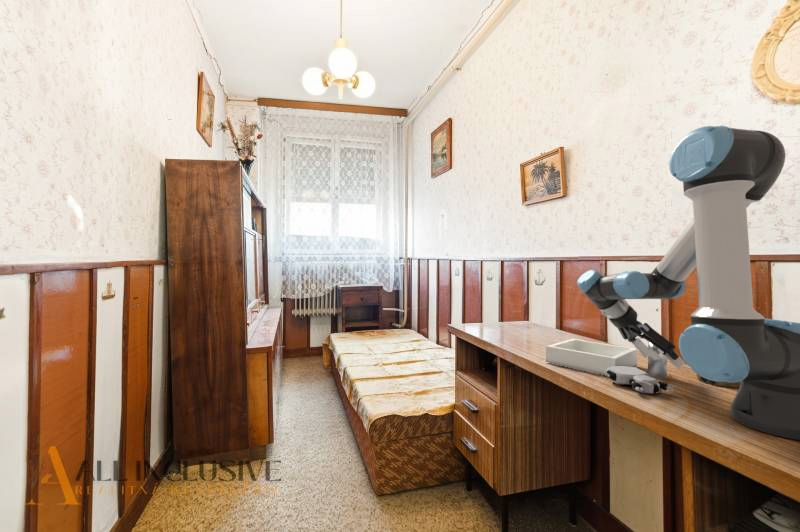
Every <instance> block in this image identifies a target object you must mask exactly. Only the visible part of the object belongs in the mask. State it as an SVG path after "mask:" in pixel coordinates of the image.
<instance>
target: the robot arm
mask: <svg viewBox="0 0 800 532" xmlns="http://www.w3.org/2000/svg"><path fill="white" fill-rule="evenodd" d="M785 161H786V150H785V146H784V144H783V143H782V141H781V140H780V139H779V138H778V137H777V136H775V135H774V134H772V133H771V132H770V133H769V132H768V131H763V130H752V129H743V128H734V127H728V126H725V125H717V126H713V125H708V126H707V125H706V126H701V127H698V128H696V129H694V130H691V131H690V132H689V133H687V134H686V135H684V137H682V138H681V139H680V140H679V141H678V143H677V145H675V147H674V148H673V150H672V152H671V154H670V158H669V162H668V163H669V165H668V166H669V168H668V169H669V171H670V172H669V173H670V174H671V175H672V176H673V178H674V177H675V179H676V180H678V181H680V182H682V184H683V185H682V186H683V187H682V188H683V195H684V196H685V197H686V198H688V199H690V200H691V201H692V208H693V209H692V210H693V218H692V219H691V221H690V222H689V224H687V226H686V227H685V229H684V230H683V231H682V232H681V233H680V235H679V236H678V238H677V239H676V240H675V242H674V243H673V244H672V245H671V247H670V248H669V250H668V251H667V252H666V253H665V254H664V256H663V257H662V258H661V260H660V262H659V263H658V264H657V265H656V267H655V268H654V269H653V270H652V271H651V272H647V273H645V272H643V273H642V272H640V271H636V270H632V271H631V270H630V271H622V272H619V273H614V274H608V275H603V274H602V273H600V272H599V271H598V270H596V269H589V270H587V271H586V272H583V274H581V275H580V276H579V278H578V279H577V281H576V285H577V287H578V288H579V290H580V291H581V292H582V294H584V296H585V297H587V299H588V300H590V301H591V303H592V304H593V305H594V306H596V308H598V310H599V311H600V312H601V315H602V316H605V318H607V319H608V320H609V322H610V323H612V325H613V326H614V327H615V328H617V330H618V331H619V333H620V335H621V337H622V338H623V339H624V340H625V341H626V340H627V341H628V342H629V343H631V344H632V345H633V346H634V348H635V349H637V351H638V352H639V353H640V354H641V355H642V356H643V357H644V358H648V345H646V344H645V343H644V342H643V341H642V340H641V339H644V340H646V341H647V342H648V341H649V342H650V343H651V344H653V345H654V346H656V347H657V348H659V349H660V350H662V351H663V355H665V356H666V357H667V358H668V360H669V361H670V362H671V364H672V365H673V366H674V367H675V368H676V369H677V370H678V369H679V370H680V369H681V368H682V366H684V365H685V364H686V365H687V366H688V367H689V368H691V369H692V370H691V371H693V373H695V374H696V375H697V374H698V375H700V376H701V377H703V378H706V379H708V380H712V381H717V382H729V383H734V382H740V381H741V386H739V387H738V390H737V392H736V394H735V397H734V398H733V400H732V402H731V404H730V410H729V411H730V413H729V415H730V417H731V419H733V421H736V422H738V423H739V424H741V425H743V426H745V427H748V428H750V429H753V430H755V431H758V432H762V433H766V434H769V435H774V436H777V437H781V438H785V439H791V440H796V441H800V322H796V321H795V322H793V321H787V320H780V319H771V318H765V316H763V315H762V314H761V313H759V312H758V311H757V310H756V309H755V308H754V298H753V285H752V271H751V255H750V244H749V243H750V241H749V229H748V228H749V227H748V213H747V208H748V207H749V206H750V205H751V204H752V203H757V202H760V201H761V200H762V199H763V198H764V196H766V194H767V193H768V192H769V191H770V189H771V188H772V187H773V186H774V184H775V183H776V181H777V180H778V178H779V177H780V175H781V173H782V171H783V168H784V164H785ZM695 269H696V275H697V276H696V279H697V294H698V308H696V310H694V311H693V312H692V313H691V314H690V325H689V326H688V327H686V328H685V329H684V331H683V332H682V333H680V336H679V339H678V340H679V341H678V349H679V352H680V355H681V356H680V355H679V354H678V353H677V352H676V351H675V349H676V345H674V344H673V343H672V342H671V341H669V339H668V338H666V339H665V337H664V336H663V335H662V334H660V333H659V332H657V330H655V329H654V328H652V326H650V325H649V324H648V323H647V322H644V323H642V322H641V321H639V320H638V313H637V311H636V310H635V309H634V308H633V307H632V306H631V305H630V304H629V303H628V301H627V300H672V299H673V300H674V299H678V298H680V297H681V296H683V295H684V293H685V292H686V291H685V290H686V287H687V285H686V281H685V280H686V279H687V278H688V277H689V276H690V274H691V273H692V272H693V271H694V270H695ZM667 339H668V340H667Z"/></svg>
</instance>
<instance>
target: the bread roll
mask: <svg viewBox="0 0 800 532" xmlns="http://www.w3.org/2000/svg"><path fill="white" fill-rule="evenodd" d="M696 377H697V379H698V381H700V382H702V383H704V384H708V385H711V386H717V387H722V386H723V388H724V387H725V388H740V386H741V381H740V382H734V383H729V382H717V381H712V380H708V379H706V378H703V377H701V376H700V375H698V374H697V373H696Z"/></svg>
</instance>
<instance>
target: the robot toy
mask: <svg viewBox="0 0 800 532" xmlns="http://www.w3.org/2000/svg"><path fill="white" fill-rule="evenodd" d="M600 369H601V370H602V371H603V372H604V373H605V374H606V376H605V377H606V378H607V379H609V380H611V381H612V382H613V384H615V385H618V384H619V385H620V386H622V385H628V386H631V388H632V389H633V391H635V392H639V393H641V394H659V393H660V390H662V391H667V390H668V391H674V390H675V387H674V386H672V385H668V384H669V383H666V382H664V381H660V380H659V381H658V380H657V378H653V377H650V376H648V372H647V371H644V370H642V369H640V368H638V367H637V366H636V367H629V366H612V367H609V368H607V371H606V372H605V371H604V370H603V369H602V368H600Z"/></svg>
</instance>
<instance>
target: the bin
mask: <svg viewBox="0 0 800 532" xmlns="http://www.w3.org/2000/svg"><path fill="white" fill-rule="evenodd" d="M546 362H549V363H553V364H558V365H562V366H566V367H569V368H568V369H571V368H573V369H572V370H575V369H577V370H576V371H580V370H582V371H581V372H584V371H586V372H585V373H589V372H591V373H590V374H594V373H597V374H596V375H598V374H601V375H600V376H603V375H606V374H605V373H604V372H603V371H602V370H601V369H600V368H602V369H603V370H604V371H605V372H606V371H607V368H609V367H612V366H629V367H637V366H638V349H637V348H636V347H627V346H622V345H621V346H620V345H614V344H610V343H609V344H608V343H602V342H597V341H590V340H583V339H577V338H570V339H566V340H563V341H560V342H557V343H552V344H549V345H546V346H545V363H546ZM562 366H561V367H562ZM566 367H565V368H566Z"/></svg>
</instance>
